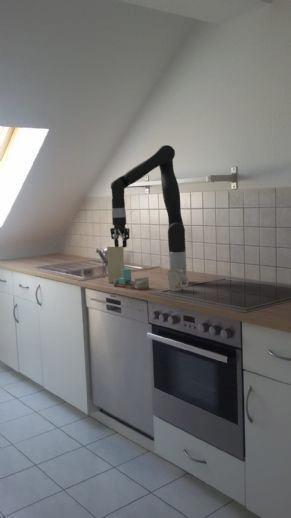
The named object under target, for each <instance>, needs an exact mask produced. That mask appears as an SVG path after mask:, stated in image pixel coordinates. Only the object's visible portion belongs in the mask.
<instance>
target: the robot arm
mask: <svg viewBox="0 0 291 518" xmlns="http://www.w3.org/2000/svg"><path fill="white" fill-rule="evenodd" d="M175 156H176V151H175V149H174V148H173V146H171V145H167V144H165V145H162V146H160V147H159V148H158V149H157V151H156V152H154V154H153V155H152V156H150V157H149V158H147V159H146V160H144V161H142V162H140V163H139V164H137V165H135V166H134V167H132V168H131V169H129V170H127V171H126V172H125V173H124V174H123V175H121V176H119V177H117V178H116V179H114V180H113V181H111V183H110V189H111V197H112V198H111V219H112V221H111V223H112V226H113V227H110V230H109V231H110V237H111V240H113V241H114V245H115V247H119V245H120V244H119V237H120V238H121V239H122V245H123V248H127V246H128V242H127V241H128V240H130V231H131V230H130V228H129V227H128V228H127V227H126V225H127V211H126V202H125V189H126V188H128V187H129V186H130V185H133V184H134V183H136V182H138V181H139V180H140V179H142V178H144V177H145V176H146V175H148V173H150V172H152V171H153V170H154V169H156V168H158V167H159V171H160V179H161V181H160V182H161V183H160V184H161V191H162V198H163V203H164V206H165V210H166V213H167V217H168V219H167V220H168V221H167V222H168V229H167V241H168V243H167V244H168V259H169V261H168V263H169V270H183V275H185V276H187V277H188V274H187V273H188V272H187V271H188V269H187V258H186V233H185V232H186V229H185V225H184V223H183V222H184V220H183V218H182V214H181V213H182V212H181V211H182V210H181V209H182V208H181V195H180V188H179V187H180V186H179V184H178V180H177V177H176V175H175V171H174V158H175ZM182 284H186V279H185V278H184V277H183V281H182Z"/></svg>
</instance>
